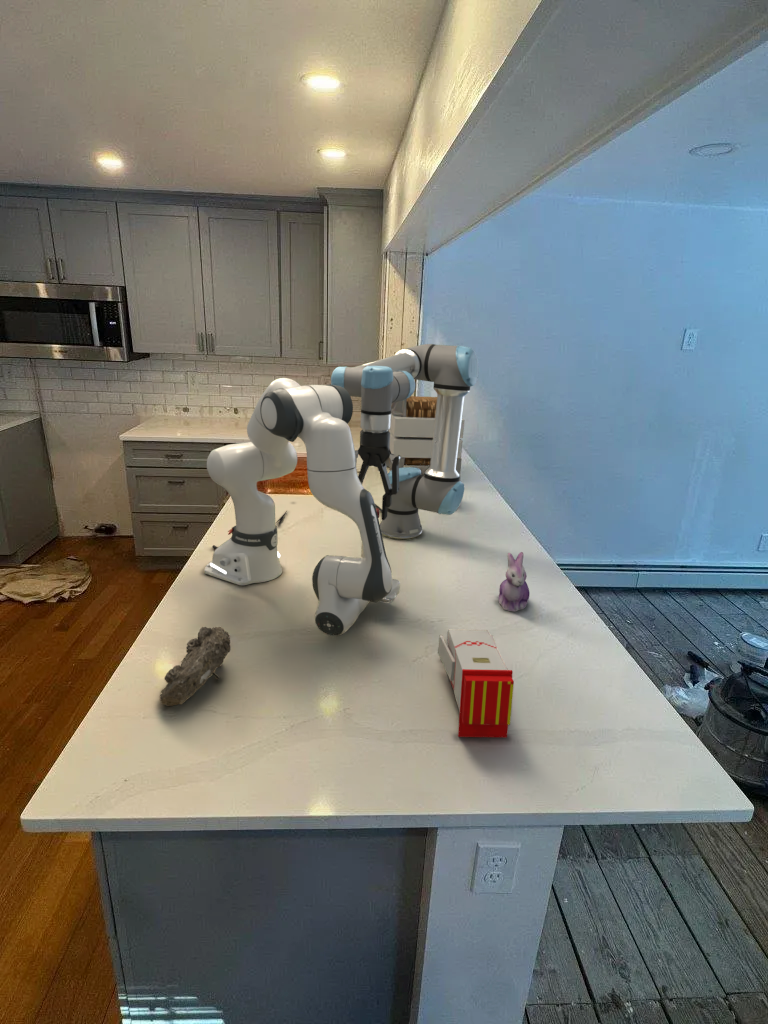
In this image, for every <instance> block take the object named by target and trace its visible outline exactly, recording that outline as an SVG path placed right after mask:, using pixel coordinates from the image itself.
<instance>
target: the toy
mask: <svg viewBox="0 0 768 1024" xmlns="http://www.w3.org/2000/svg"><path fill="white" fill-rule="evenodd" d="M446 640H447V643H446V641H445V639H444V636H443V635H442V634H439V637H438V646H437V656H438V657H439V659H440V661H441V663H442V666H443V668H444V670H445V672H446V674H447V677H448V679H449V681H450V684H451V687H452V690H453V693H454V697H455V701H456V705H457V708H458V711H459V714H458V715H459V716H458V730H457V731H458V732H457V737H458V738H508V731H509V726H510V725H511V717H512V707H513V697H514V696H513V695H514V684H515V680H514V679H513V673H514V671H513V670H512V669H508V667H507V665H506V662H505V661H504V659H503V658H502V655H501V653H500V651H499V649H498V647H497V643H496V639H495V637H494V635H493V634H491V632H490V631H489V629H467V628H466V629H465V628H463V629H461V628H460V629H459V628H448V630H447V639H446Z"/></svg>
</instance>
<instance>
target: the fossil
mask: <svg viewBox="0 0 768 1024" xmlns="http://www.w3.org/2000/svg"><path fill="white" fill-rule="evenodd" d="M231 648H232V647H231V635H230V633H229V631H225V630H224V628H223V627H222V626H215V627H214V626H213V627H212V628H211V627H207V626H202V627H200V629H199V631H198V633H197V637H195V638H191V639H189V640H188V641H187V643H186V654H185V656H184V657H183V660H182V661H181V663H180V665H178V664H177V665H174V666H173V667H172V668H171V669H170V670H168V672H166V673H165V675H164V678H163V679H164V681H165V682H166V683H167V684H166V685H165V687H164V688H162V689H161V690H160V694H159V700H160V703H161V705H165V706H167V707H173V706H178V705H183V704H184V703H185V702H186V701H187V700H188V699H190V697H192V696H193V695H194V694H195V693H196V692H197V691H199V690H200V689H201V688H202V687H203V686H204V685H205V684H206V682H207V681H208V679H209V678H210V677H212V675H213V677H215V678H216V680H220V679H221V677H219V675H218V674H216V672H215V671H216V669H217V668H220V667H221V666H222V665H223V663H224V661H225V658H226V657H227V655H228V654H229V653H230V652H231Z"/></svg>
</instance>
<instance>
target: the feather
mask: <svg viewBox="0 0 768 1024" xmlns="http://www.w3.org/2000/svg"><path fill="white" fill-rule="evenodd" d="M287 512H288V510H286V511H285V512H284V513H283V514H282V515H281V517H280V518H278V520H276V521H275V523H277V524H278V525H277V528H279V527H280V525H281V524H282V522H283V519H284V518H285V516H286V514H287Z"/></svg>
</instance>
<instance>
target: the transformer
mask: <svg viewBox="0 0 768 1024" xmlns="http://www.w3.org/2000/svg"><path fill="white" fill-rule="evenodd" d="M436 404H437V396H415V395H414V396H413V395H412V396H410V397H409V398H407V399H405V400H404V401H398V402H393V403H391V424H390V429H389V430H388V431H389V432H390V446H389V448H390V451H391V453H392V454H394V455H400V456H401V459H400V462H399V468H405V466H406V467H409V466H411V467H417V466H418V467H430V461H431V451H432V442H433V432H434V423H435V413H436ZM464 429H465V419H464V418H462V420H461V429H460V437H459V446H458V454H457V463H456V471H457V472H458V474H459V475H460V477H459V481H461V472H462V461H463V460H462V453H463V442H464V441H463V440H462V439H463V438H464V431H465V430H464ZM386 466H387V467H388V468H389V472H390V471H391V470H392V463H391V459H390V458H388V459H387V461H386Z"/></svg>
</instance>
